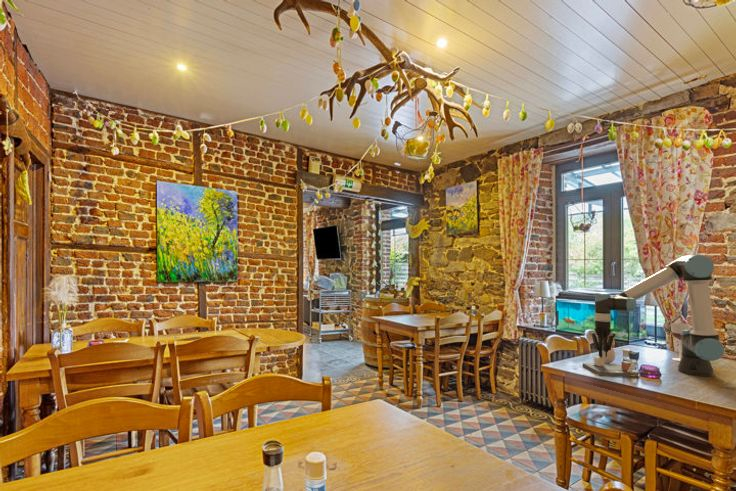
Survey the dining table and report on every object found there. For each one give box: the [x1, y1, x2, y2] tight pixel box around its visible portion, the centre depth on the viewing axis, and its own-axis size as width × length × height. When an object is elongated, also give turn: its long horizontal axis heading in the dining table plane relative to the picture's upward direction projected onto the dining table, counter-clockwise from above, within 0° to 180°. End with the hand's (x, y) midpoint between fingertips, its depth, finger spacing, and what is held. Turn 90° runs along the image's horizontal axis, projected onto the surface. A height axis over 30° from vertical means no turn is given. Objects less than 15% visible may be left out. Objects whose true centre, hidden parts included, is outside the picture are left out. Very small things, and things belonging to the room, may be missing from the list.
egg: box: [604, 346, 616, 364], centre depth 234 cm, size 8×8×11 cm
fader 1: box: [593, 356, 605, 366], centre depth 222 cm, size 3×4×4 cm
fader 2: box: [620, 360, 632, 371], centre depth 212 cm, size 3×4×4 cm
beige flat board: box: [582, 362, 638, 378], centre depth 217 cm, size 20×18×2 cm
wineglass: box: [670, 322, 690, 362], centre depth 244 cm, size 9×10×22 cm
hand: (602, 362), depth 222 cm, fingers closed
